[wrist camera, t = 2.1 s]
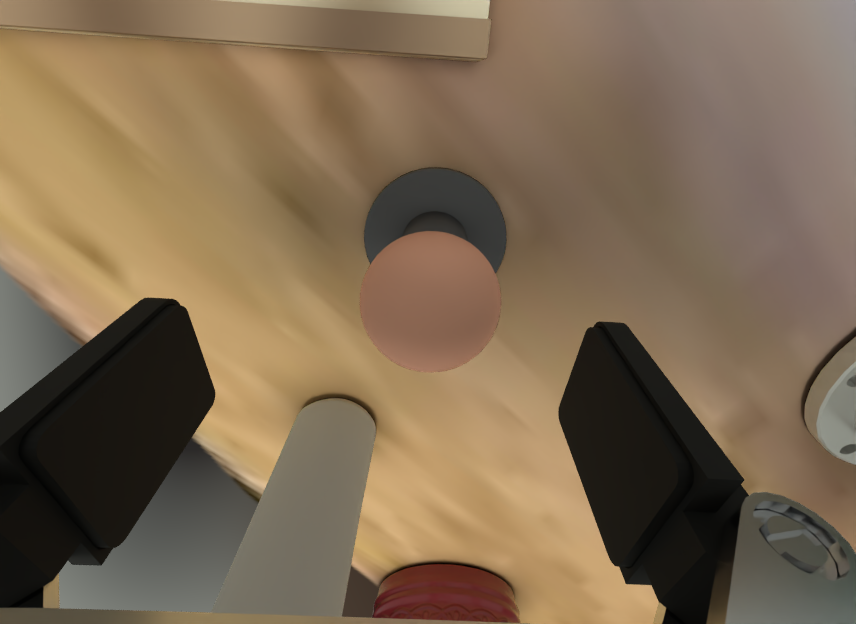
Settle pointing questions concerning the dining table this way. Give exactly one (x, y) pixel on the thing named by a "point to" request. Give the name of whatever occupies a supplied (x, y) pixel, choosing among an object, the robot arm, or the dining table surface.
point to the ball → (430, 301)
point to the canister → (446, 595)
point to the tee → (437, 212)
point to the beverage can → (305, 518)
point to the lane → (274, 23)
